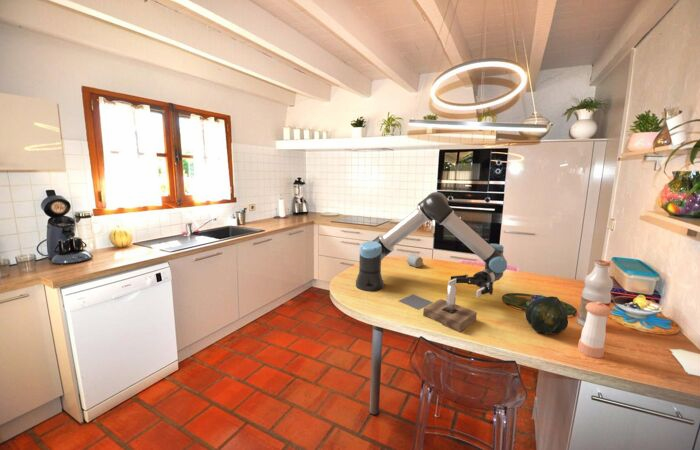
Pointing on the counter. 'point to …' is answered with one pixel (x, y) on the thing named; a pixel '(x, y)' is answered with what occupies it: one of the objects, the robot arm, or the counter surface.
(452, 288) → the metal pin
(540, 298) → the pudding
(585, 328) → the pepper shaker
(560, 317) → the squash
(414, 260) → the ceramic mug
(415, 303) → the rubber mat
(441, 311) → the socket block
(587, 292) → the fruit juice
